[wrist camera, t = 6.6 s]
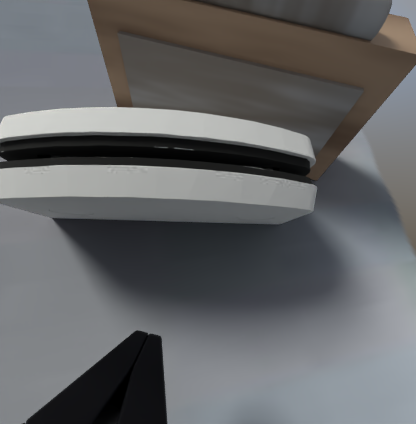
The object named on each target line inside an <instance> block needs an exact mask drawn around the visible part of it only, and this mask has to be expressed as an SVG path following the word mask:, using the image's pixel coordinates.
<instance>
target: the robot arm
mask: <svg viewBox="0 0 416 424" xmlns="http://www.w3.org/2000/svg"><path fill="white" fill-rule="evenodd" d="M23 424H25V423H23ZM26 424H167V411H166V396H165V382H164V367H163V352H162V338H161V336H158V335H154V334H149V335H148V333H146V332H142V331H138V330H137V331H135V332H134V333H132V334H131V335H130V336H129V337H128V338H126V339H125V340H124V341H123V342H121V343H120V344H119V345H118V346H117V347H115V348H114V349H113V350H112V351H111V352H109V353H108V354H107V355H106V356H104V357H103V358H102V359H101V360H100V361H98V362H97V363H96V364H95V365H93V366H92V367H91V368H90V369H89V370H87V371H86V372H85V373H84V374H83V375H81V376H80V377H79V378H78V379H76V380H75V381H74V382H73V383H72V384H70V385H69V386H68V387H67V388H65V389H64V390H63V391H62V392H61V393H59V394H58V395H57V396H56V397H54V398H53V399H52V400H51V401H50V402H48V403H47V404H46V405H45V406H44V407H42V408H41V409H40V410H39V411H37V412H36V413H35V414H34V415H33V416H31V417H30V418H29V419H28V420H27V421H26Z"/></svg>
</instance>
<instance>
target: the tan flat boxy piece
mask: <svg viewBox="0 0 416 424" xmlns="http://www.w3.org/2000/svg"><path fill="white" fill-rule="evenodd" d="M87 1H88V4H89V8H90V11H91V15H92V19H93V22H94V26H95V29H96V33H97V36H98V40H99V43H100V47H101V50H102V54H103V58H104V61H105V65H106V68H107V72H108V75H109V79H110V82H111V86H112V89H113V93H114V96H115V100H116V104H117V107H126V108H150V109H166V110H179V111H188V112H197V113H205V114H212V115H219V116H225V117H231V118H237V119H243V120H249V121H254V122H258V123H262V124H267V125H271V126H275V127H279V128H283V129H286V130H289V131H293V132H296V133H300V134H303V135H305V136H307V137H308V138H309V139H310V141H311V145H312V148H313V152H314V156H315V159H316V162H315V164H314V165H313V166H312V167H311V168H310V173H309V174H307V175H306V177H308V178H310V179H312V180H316V181H317V180H318V179H319V178H320V177H321V175H322V174H323V173H324V172H325V171H326V169H327V168H328V167H329V166H330V165H331V164H332V162H333V161H334V160H335V159H336V158H337V157H338V155H339V154H340V153H341V152H342V151H343V150H344V148H345V147H346V146H347V145H348V144H349V143H350V141H351V140H352V139H353V138H354V137H355V135H356V134H357V133H358V132H359V131H360V130H361V128H362V127H363V126H364V125H365V124H366V123H367V121H368V120H369V119H370V118H371V117H372V116H373V114H374V113H375V112H376V111H377V109H379V107H380V106H381V105H382V104H383V103H384V101H385V100H386V99H387V98H388V97H389V96H390V94H391V93H392V92H393V91H394V90H395V89H396V87H397V86H398V85H399V84H400V83H401V81H402V80H403V79H404V78H405V77H406V75H408V73H409V72H410V71H411V70H412V69H413V67H414V66H415V65H416V36H415V34H414V31H413V29H412V27H411V24H410V22H409V19H408V18H405V17H401V16H396V15H392V14H389V12H390V9H391V5H392V0H87Z"/></svg>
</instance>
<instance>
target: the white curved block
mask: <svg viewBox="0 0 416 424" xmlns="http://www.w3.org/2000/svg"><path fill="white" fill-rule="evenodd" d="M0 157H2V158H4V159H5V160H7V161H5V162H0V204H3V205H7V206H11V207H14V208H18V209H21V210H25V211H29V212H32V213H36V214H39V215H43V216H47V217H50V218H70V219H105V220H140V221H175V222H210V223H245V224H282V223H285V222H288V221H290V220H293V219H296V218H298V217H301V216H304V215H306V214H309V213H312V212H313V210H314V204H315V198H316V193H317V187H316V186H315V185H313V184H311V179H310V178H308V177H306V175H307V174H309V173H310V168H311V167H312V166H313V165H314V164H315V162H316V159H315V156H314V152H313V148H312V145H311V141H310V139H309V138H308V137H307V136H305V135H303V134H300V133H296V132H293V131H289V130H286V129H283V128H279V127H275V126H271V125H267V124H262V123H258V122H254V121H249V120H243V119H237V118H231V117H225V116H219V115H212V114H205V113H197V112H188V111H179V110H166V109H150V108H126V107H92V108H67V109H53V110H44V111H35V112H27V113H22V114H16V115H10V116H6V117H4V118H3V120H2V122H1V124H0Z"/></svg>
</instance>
